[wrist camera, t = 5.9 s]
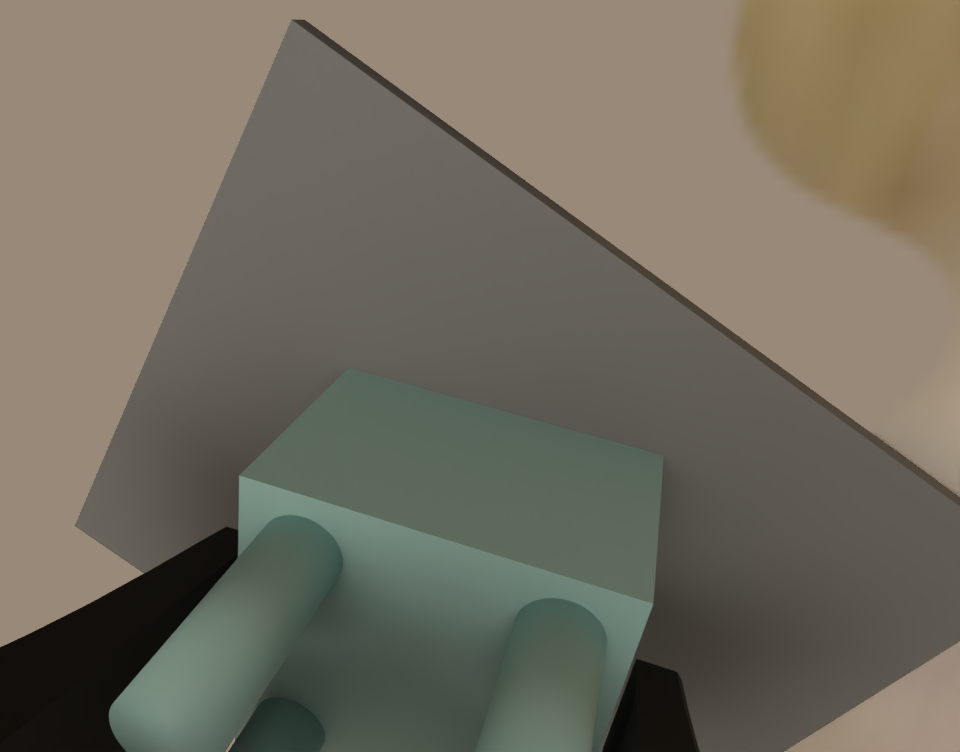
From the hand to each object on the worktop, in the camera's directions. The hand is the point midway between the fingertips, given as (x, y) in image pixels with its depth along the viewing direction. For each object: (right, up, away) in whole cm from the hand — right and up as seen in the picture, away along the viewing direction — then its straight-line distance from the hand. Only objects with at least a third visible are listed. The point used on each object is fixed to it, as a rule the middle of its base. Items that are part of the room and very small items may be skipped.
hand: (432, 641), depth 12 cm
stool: (+1, +1, +2) cm, 2 cm away
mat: (+1, +1, +2) cm, 3 cm away
